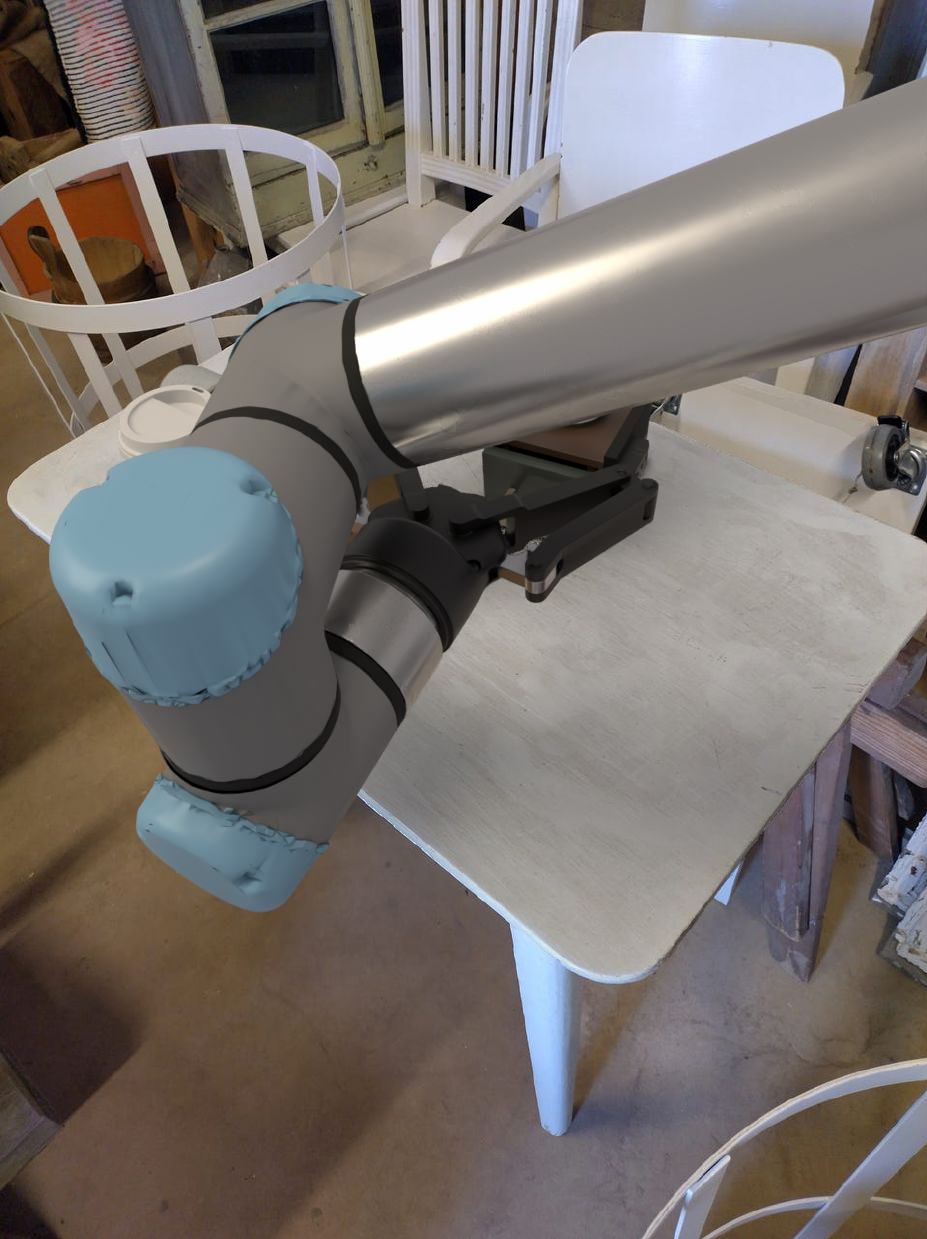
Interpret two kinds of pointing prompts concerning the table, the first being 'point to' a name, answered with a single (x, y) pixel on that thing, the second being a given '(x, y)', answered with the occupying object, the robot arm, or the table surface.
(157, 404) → the coffee cup
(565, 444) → the cabinet
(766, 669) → the table surface
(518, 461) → the drawer
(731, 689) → the table surface
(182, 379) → the ceramic mug
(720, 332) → the robot arm
